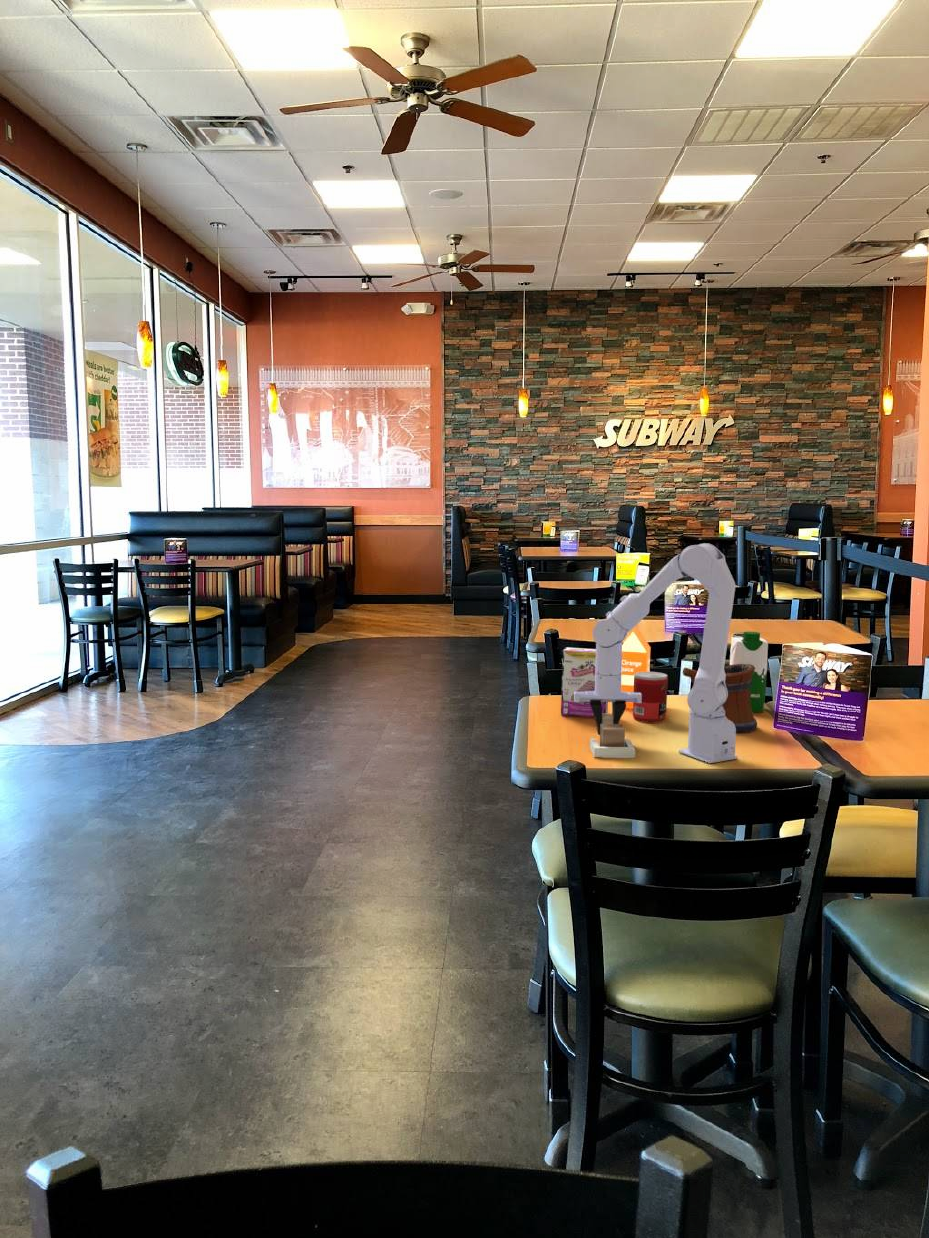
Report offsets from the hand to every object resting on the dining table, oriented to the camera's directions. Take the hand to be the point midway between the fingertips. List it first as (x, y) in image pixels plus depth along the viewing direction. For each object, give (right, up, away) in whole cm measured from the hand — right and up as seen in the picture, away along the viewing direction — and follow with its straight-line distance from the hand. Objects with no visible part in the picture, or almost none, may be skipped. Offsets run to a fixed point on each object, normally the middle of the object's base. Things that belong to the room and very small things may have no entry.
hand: (606, 734), depth 205 cm
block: (0, -2, -5) cm, 5 cm away
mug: (+28, 0, +13) cm, 31 cm away
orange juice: (+12, +3, +36) cm, 38 cm away
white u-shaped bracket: (0, -3, -9) cm, 9 cm away
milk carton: (+40, +2, +32) cm, 52 cm away
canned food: (+14, +1, +21) cm, 25 cm away
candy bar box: (-2, +1, +24) cm, 24 cm away
